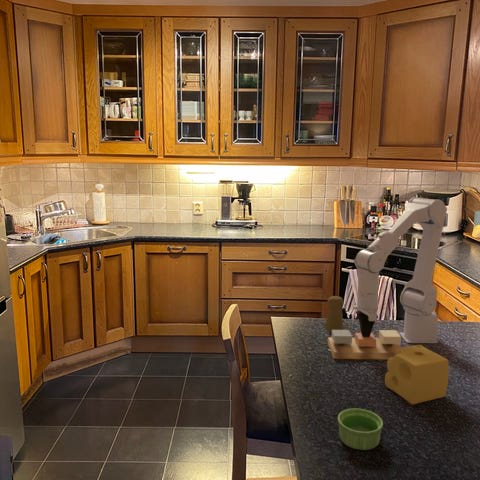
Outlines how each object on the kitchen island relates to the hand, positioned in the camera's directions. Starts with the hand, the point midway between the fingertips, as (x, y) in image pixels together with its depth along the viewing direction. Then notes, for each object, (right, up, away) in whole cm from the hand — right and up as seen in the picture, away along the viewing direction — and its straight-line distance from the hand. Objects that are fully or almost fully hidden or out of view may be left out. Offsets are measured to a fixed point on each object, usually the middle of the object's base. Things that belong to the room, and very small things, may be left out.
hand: (365, 336), depth 141 cm
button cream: (+7, -1, 0) cm, 7 cm away
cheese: (+6, -9, -23) cm, 25 cm away
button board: (0, -5, +1) cm, 5 cm away
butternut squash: (-6, -1, +19) cm, 20 cm away
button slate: (-7, -1, 0) cm, 7 cm away
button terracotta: (0, -2, 0) cm, 2 cm away
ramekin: (-12, -13, -42) cm, 46 cm away
